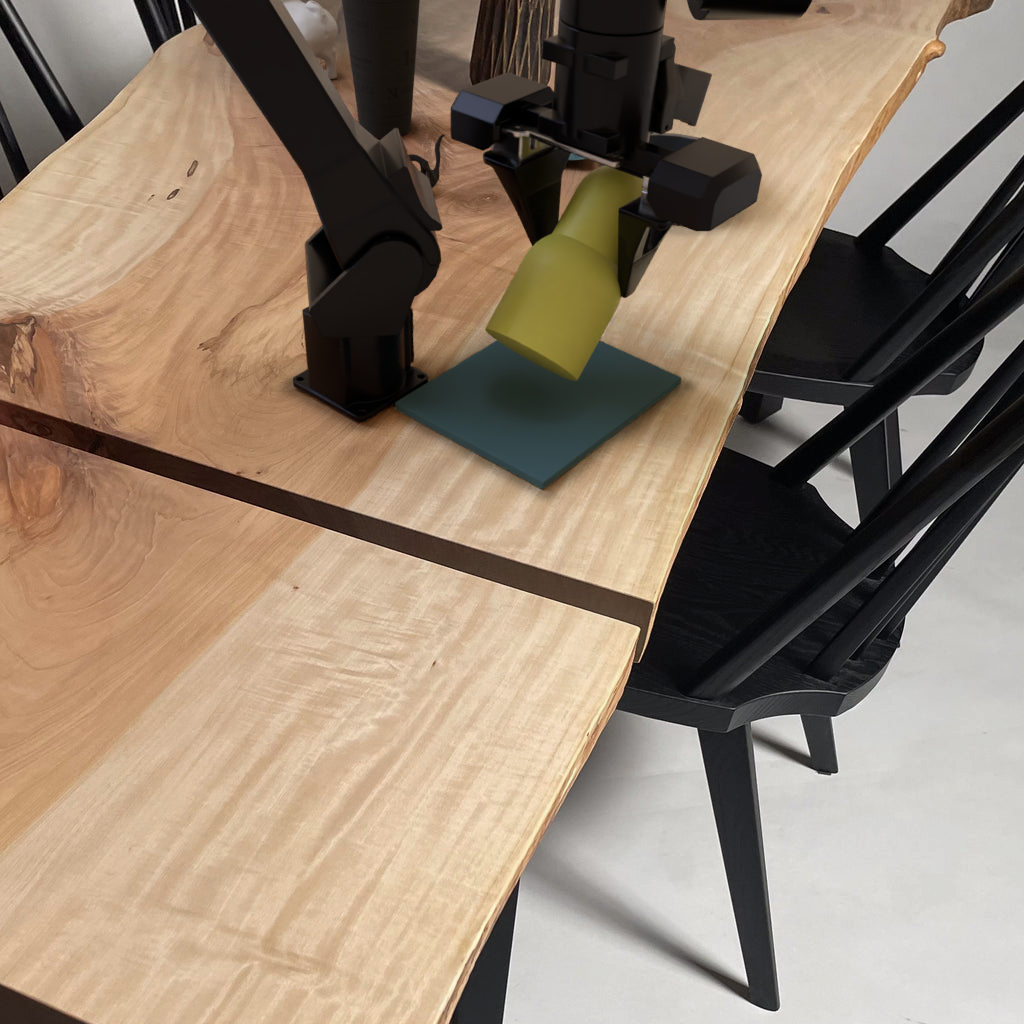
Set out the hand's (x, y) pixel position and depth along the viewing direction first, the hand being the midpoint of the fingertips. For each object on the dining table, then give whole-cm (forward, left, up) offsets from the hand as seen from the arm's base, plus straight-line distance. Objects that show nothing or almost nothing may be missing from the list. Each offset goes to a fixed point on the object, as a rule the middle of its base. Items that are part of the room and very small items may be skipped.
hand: (586, 277), depth 70 cm
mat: (-4, 0, -7) cm, 8 cm away
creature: (+11, +27, -7) cm, 31 cm away
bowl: (+27, +10, -7) cm, 30 cm away
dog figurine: (+25, +56, -7) cm, 62 cm away
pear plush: (-5, 0, -3) cm, 6 cm away
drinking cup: (+21, +38, -7) cm, 44 cm away
